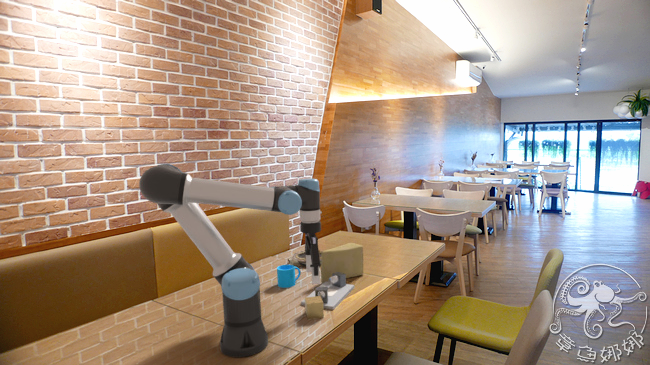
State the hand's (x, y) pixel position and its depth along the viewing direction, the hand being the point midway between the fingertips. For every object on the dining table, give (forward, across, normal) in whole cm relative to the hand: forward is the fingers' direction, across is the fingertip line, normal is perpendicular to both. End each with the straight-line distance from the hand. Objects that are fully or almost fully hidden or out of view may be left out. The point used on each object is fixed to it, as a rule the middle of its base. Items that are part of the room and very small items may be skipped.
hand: (312, 277), depth 139 cm
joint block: (+14, 0, 0) cm, 15 cm away
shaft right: (+13, +23, -14) cm, 30 cm away
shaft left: (+13, +10, -5) cm, 17 cm away
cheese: (+15, +36, -19) cm, 43 cm away
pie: (+15, +65, -10) cm, 68 cm away
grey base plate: (+14, +16, -9) cm, 23 cm away
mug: (+15, +36, +6) cm, 39 cm away
